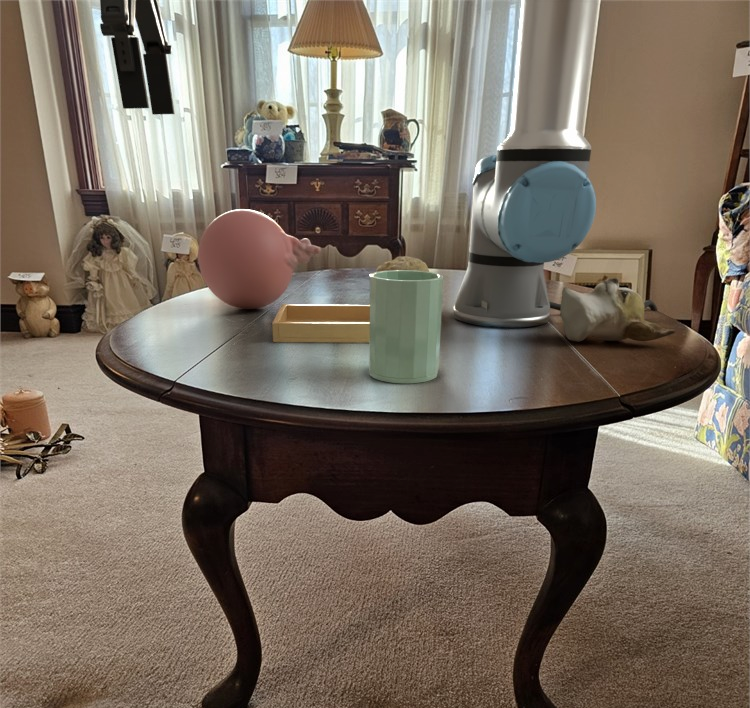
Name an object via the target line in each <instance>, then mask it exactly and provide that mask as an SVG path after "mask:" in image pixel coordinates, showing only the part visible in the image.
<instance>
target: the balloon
mask: <svg viewBox="0 0 750 708" xmlns="http://www.w3.org/2000/svg"><path fill="white" fill-rule="evenodd" d="M321 253H322V249H321V247H320V246H317V245H314V244H312V243H311V240H310V239H309V238H306V237H305V238H302V239H298V238H297V237H295V236H293V235H289V234H287V233H286V232H285V231H284V229H283V228H282V226H280V225H279V224H278V223H277V222H276V221H275V219H272V218H271V217H269V216H268V215H266V214H264V213H262V212H260V211H257V210H253V209H245V208H239V209H233V210H229V211H227V212H223V213H222V214H220V215H219V216H217V217H216V218H214V219H213V220H212V221H211V222H210V223H209V224H208V226H207V227H206V228H205V230H204V231H203V233H202V235H201V238H200V240H199V244H198V252H197V259H198V260H197V262H198V268H199V271H200V274H201V277H202V279H203V280H204V284H205V286H207V288H208V289H209V290H210V292H211V293H212V294H213V295H214V296H215V297H216V298H218V299H219V300H220V301H222V302H223V303H225V304H226V305H229V306H231V307H233V308H237V309H242V310H256V309H261V308H264V307H267V306H269V305H272V303H275V301H277V300H278V299H279V298H280V297H281V296H282V295H283V294H284V293H285V292H286V290H287V288H288V287H289V285H290V283H291V281H292V278H293V275H294V270H295V269H296V268H297V266H299V265H300V264H308V263H309V262H310V261H311V258H312V257H313V256H314V255H320V254H321Z"/></svg>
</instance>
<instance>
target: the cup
mask: <svg viewBox="0 0 750 708" xmlns="http://www.w3.org/2000/svg"><path fill="white" fill-rule="evenodd" d="M444 278H445V277H444V276H443V274H441V273H437V272H434V271H433V272H432V271H429V272H426V271H412V270H411V271H410V270H393V271H381V272H377V271H375V272H372V273H370V274H369V305H370V311H369V343H368V369H369V370H368V374H369V376H370V377H371V378H373V379H375V380H378V381H380V382H386V383H391V384H420V383H421V384H422V383H426V382H429V381H432V380H434V379H436V378H437V377H438V375H439V374H438V372H439V369H440V368H439V367H440V364H439V362H440V349H441V331H442V316H443V315H442V314H443V313H442V312H443V295H444Z"/></svg>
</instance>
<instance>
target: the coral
mask: <svg viewBox="0 0 750 708" xmlns="http://www.w3.org/2000/svg"><path fill="white" fill-rule="evenodd" d="M393 270H410V271H411V270H412V271H426V272H430V269H429V267H428V265H427V263H426V262H424V261H423V260H422V259H420V258H416V257H412V256H406V255H405V256H404V255H403V256H397V257H395V258H394V259H391V260H388V261H385V262H383V263H381V264H380V265H378V267H377V268H376V272H381V271H393Z"/></svg>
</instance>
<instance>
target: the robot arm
mask: <svg viewBox="0 0 750 708" xmlns="http://www.w3.org/2000/svg"><path fill="white" fill-rule="evenodd" d="M99 3H100V4H99V5H100V19H101V22H102V23H99V26H100V32H101V35H102V36H103V37H110V39H111V40H110V41H111V46H112V52H113V57H114V64H115V69H116V75H117V81H118V87H119V92H120V99H121V103H122V104H121V105H122V109H125V110H127V109H129V110H131V109H135V110H136V109H150V107H151V113H152V115H175V108H174V100H173V94H172V92H173V91H172V85H171V80H170V73H169V65H168V64H169V63H168V57H167V55H173V47H172V45H171V44H169V41H168V37H167V33H166V29H165V24H164V23H165V22H164V19H163V15H162V11H161V6H160V1H159V0H99ZM520 5H521V6H520V17H519V29H518V40H517V41H518V42H517V52H516V53H517V54H516V65H515V78H514V89H513V100H512V101H513V102H512V111H511V112H512V113H511V126H510V132H509V134H508V136H507V137H505V139H504V140H503V141H502V142H501V143H500V144H499V145H498V146H497V149H496V154H491V155H488V156H485V157H483V158H480V160H479V161H478V162H477V164H476V166H475V169H474V177H473V180H472V188H473V191H472V205H471V218H470V219H471V221H470V233H469V250H468V262H467V264H468V265H467V268H466V271H465V273H464V277H463V278H462V282H461V285H460V286H459V290H458V292H457V294H456V297H455V300H454V306H453V313H452V314H453V318H454V319H456V320H458V321H460V322H463V323H466V324H471V325H476V326H483V327H493V328H496V327H497V328H528V327H529V328H530V327H536V326H541V325H544V324H546V323H548V322H550V315H551V309H552V310H557V311H559V312H560V311H561V303H557V302H553V301H550V298H549V294H548V288H547V282H546V277H545V271H544V268H545V263H550V262H551V263H552V262H555V261H558V260H560V259H562V258H564V257H566V256H568V255H569V254H571V253H572V252H573V251H575V250H576V249H577V248H578V246H580V245H581V244H582V243H583V241H584V240H585V238H586V237H587V235H588V233H589V232H590V230H591V228H592V225H593V222H594V220H595V215H596V209H597V199H596V197H597V196H596V194H595V189H594V186H593V184H592V182H591V180H590V178H589V170H590V164H591V162H590V161H591V155H592V154H591V153H592V146H591V145H592V144H590V143H589V141H588V139H586V137H585V136H584V135H583V132H582V126H583V118H584V110H585V103H586V94H587V88H588V87H587V86H588V79H589V69H590V64H591V63H590V62H591V54H592V47H593V39H594V31H595V29H594V28H595V22H596V14H597V7H598V0H521V3H520ZM135 22H136V23H135ZM135 25H136V26H137V29H138V32H139V35H140V39H141V42H142V46H143V50H144V52H145V53H143V54H142V53H141V46H140V41H139V37H138V36H135V31H136V29H135V28H136V27H135ZM142 57H143V59H142ZM143 63H144V64H143ZM144 69H145V71H144ZM145 75H146V79H145ZM146 83H147V85H146ZM147 89H148V91H147ZM148 94H149V96H148ZM148 97H149V98H148ZM149 101H150V104H149ZM643 302H644V307H645V308H644V310H646V309H647V308H649V309H650V311H652V312H653V311H654V312H657V311H658V307H657V305H656V303H655V302H654V301H653V300H650V299H647V300H645V301H643Z"/></svg>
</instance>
